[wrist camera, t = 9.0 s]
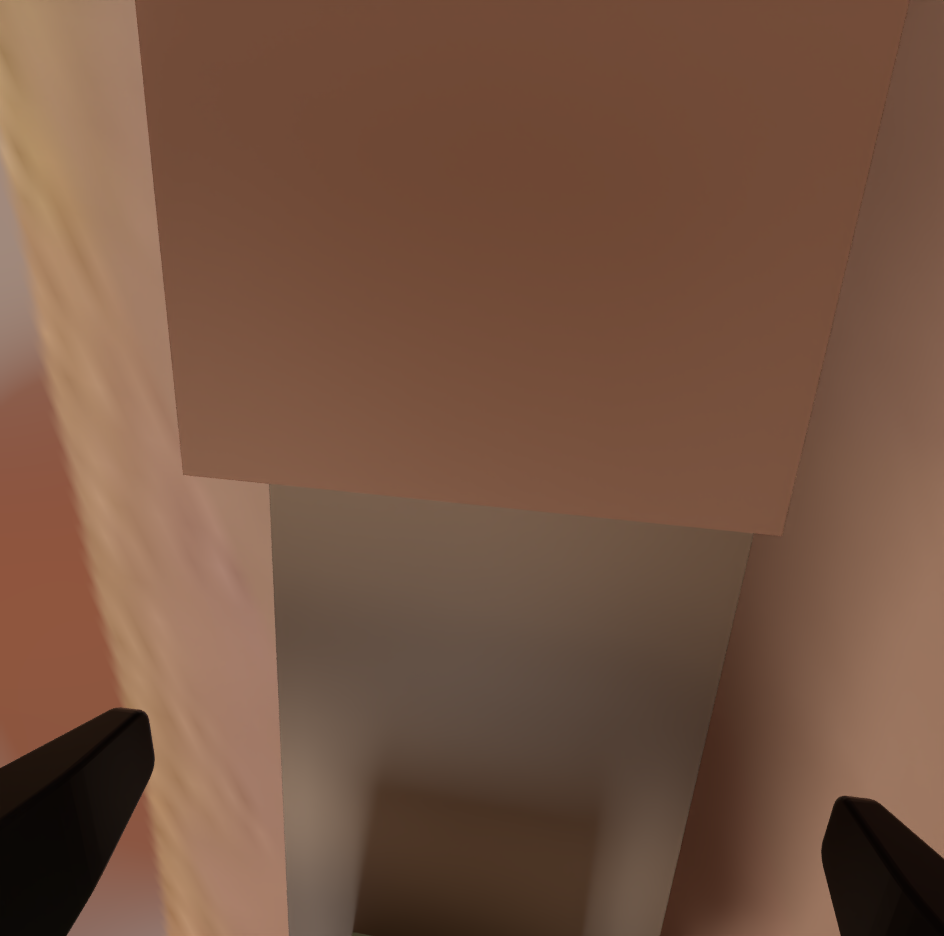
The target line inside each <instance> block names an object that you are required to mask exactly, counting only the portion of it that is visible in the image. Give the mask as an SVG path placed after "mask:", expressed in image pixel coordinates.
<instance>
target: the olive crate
mask: <svg viewBox="0 0 944 936" xmlns="http://www.w3.org/2000/svg"><path fill="white" fill-rule="evenodd" d="M352 936H371V935H365V934H360V933H354V932H353V933H352Z"/></svg>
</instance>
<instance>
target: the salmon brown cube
mask: <svg viewBox="0 0 944 936" xmlns="http://www.w3.org/2000/svg"><path fill="white" fill-rule="evenodd" d="M909 2H910V0H135V5H136V14H137V24H138V34H139V44H140V54H141V64H142V74H143V84H144V93H145V103H146V113H147V123H148V133H149V143H150V153H151V162H152V172H153V182H154V192H155V202H156V212H157V222H158V231H159V241H160V251H161V261H162V271H163V281H164V291H165V300H166V310H167V320H168V330H169V340H170V350H171V360H172V370H173V379H174V389H175V399H176V409H177V419H178V429H179V439H180V448H181V458H182V468H183V475H189V476H199V477H208V478H218V479H228V480H238V481H247V482H257V483H267V484H277V485H286V486H296V487H306V488H315V489H325V490H335V491H345V492H354V493H364V494H374V495H384V496H393V497H403V498H413V499H423V500H432V501H442V502H452V503H462V504H471V505H481V506H491V507H501V508H510V509H520V510H530V511H540V512H549V513H559V514H569V515H579V516H588V517H598V518H608V519H618V520H627V521H637V522H647V523H657V524H666V525H676V526H686V527H696V528H705V529H715V530H725V531H735V532H744V533H754V534H764V535H773V536H782V534H783V530H784V526H785V522H786V517H787V513H788V509H789V505H790V501H791V496H792V492H793V488H794V484H795V480H796V475H797V471H798V467H799V463H800V459H801V454H802V450H803V446H804V442H805V438H806V434H807V429H808V425H809V421H810V417H811V413H812V408H813V404H814V400H815V396H816V392H817V387H818V383H819V379H820V375H821V371H822V366H823V362H824V358H825V354H826V350H827V346H828V341H829V337H830V333H831V329H832V325H833V320H834V316H835V312H836V308H837V304H838V299H839V295H840V291H841V287H842V283H843V278H844V274H845V270H846V266H847V262H848V257H849V253H850V249H851V245H852V241H853V237H854V232H855V228H856V224H857V220H858V216H859V211H860V207H861V203H862V199H863V195H864V190H865V186H866V182H867V178H868V174H869V169H870V165H871V161H872V157H873V153H874V149H875V144H876V140H877V136H878V132H879V128H880V123H881V119H882V115H883V111H884V107H885V102H886V98H887V94H888V90H889V86H890V81H891V77H892V73H893V69H894V65H895V60H896V56H897V52H898V48H899V44H900V40H901V35H902V31H903V27H904V23H905V19H906V14H907V10H908V6H909Z"/></svg>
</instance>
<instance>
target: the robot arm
mask: <svg viewBox="0 0 944 936" xmlns="http://www.w3.org/2000/svg"><path fill="white" fill-rule="evenodd" d="M154 761H155V756H154V749H153V742H152V736H151V729H150V723H149V718H148V715H147V714H146V713H145V712H144V711H142V710H137V709H129V708H113V709H111V710H109V711H107V712H105V713H103V714H101V715H99V716H97V717H96V718H94V719H92V720H90V721H88V722H86V723H84V724H82V725H80V726H79V727H77V728H75V729H73V730H71V731H69V732H67V733H65V734H64V735H62V736H60V737H58V738H56V739H54V740H53V741H50V742H49V743H47V744H45V745H43V746H41V747H39V748H37V749H35V750H33V751H32V752H30V753H28V754H26V755H24V756H22V757H20V758H19V759H17V760H15V761H13V762H11V763H9V764H7V765H5V766H3V767H2V768H0V936H67V934H68V932H69V931H70V929H71V927H72V926H73V924H74V923H75V921H76V919H77V918H78V916H79V914H80V912H81V911H82V909H83V908H84V906H85V904H86V903H87V901H88V899H89V897H90V896H91V894H92V892H93V891H94V889H95V887H96V885H97V883H98V881H99V879H100V877H101V876H102V874H103V872H104V870H105V868H106V866H107V864H108V862H109V860H110V858H111V856H112V854H113V852H114V850H115V848H116V845H117V843H118V841H119V839H120V837H121V835H122V833H123V831H124V829H125V827H126V825H127V823H128V821H129V819H130V817H131V815H132V813H133V811H134V809H135V807H136V805H137V803H138V801H139V799H140V797H141V795H142V793H143V791H144V789H145V787H146V785H147V783H148V781H149V779H150V777H151V774H152V771H153V768H154ZM821 854H822V863H823V868H824V872H825V876H826V880H827V884H828V887H829V891H830V895H831V899H832V903H833V907H834V911H835V915H836V919H837V923H838V927H839V931H840V934H841V936H944V858H942V857H941V856H940V855H939V854H938V853H937V852H935V851H934V850H933V849H932V848H931V847H930V846H928V845H927V844H926V843H925V842H924V841H923V840H922V839H920V838H919V837H918V836H917V835H916V834H915V833H913V832H912V831H911V830H910V829H909V828H908V827H907V826H905V825H904V824H903V823H902V822H901V821H900V820H898V819H897V818H896V817H895V816H894V815H893V814H892V813H890V812H889V811H888V810H887V809H886V808H885V807H883V806H882V805H881V804H880V803H878V802H877V801H875V800H872V799H867V798H859V797H851V796H841V797H839V798H838V799H837V800H836V801H835V804H834V806H833V809H832V813H831V816H830V819H829V822H828V826H827V829H826V832H825V835H824V839H823V842H822V850H821Z"/></svg>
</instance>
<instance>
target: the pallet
mask: <svg viewBox="0 0 944 936" xmlns="http://www.w3.org/2000/svg"><path fill="white" fill-rule="evenodd" d="M269 493H270V515H271V538H272V561H273V584H274V606H275V629H276V652H277V675H278V698H279V720H280V743H281V766H282V789H283V811H284V834H285V857H286V880H287V902H288V925H289V936H352V933H353V932H354V933H360V934H365V935H371V936H660V933H661V929H662V925H663V920H664V916H665V912H666V908H667V903H668V899H669V895H670V890H671V886H672V882H673V878H674V873H675V869H676V865H677V860H678V856H679V852H680V848H681V843H682V839H683V835H684V830H685V826H686V822H687V818H688V813H689V809H690V805H691V801H692V796H693V792H694V788H695V783H696V779H697V775H698V771H699V766H700V762H701V758H702V753H703V749H704V745H705V741H706V736H707V732H708V728H709V723H710V719H711V715H712V711H713V706H714V702H715V698H716V694H717V689H718V685H719V681H720V676H721V672H722V668H723V664H724V659H725V655H726V651H727V646H728V642H729V638H730V634H731V629H732V625H733V621H734V616H735V612H736V608H737V604H738V599H739V595H740V591H741V587H742V582H743V578H744V574H745V569H746V565H747V561H748V557H749V552H750V548H751V544H752V539H753V535H754V533H744V532H735V531H725V530H715V529H705V528H696V527H686V526H676V525H666V524H657V523H647V522H637V521H627V520H618V519H608V518H598V517H588V516H579V515H569V514H559V513H549V512H540V511H530V510H520V509H510V508H501V507H491V506H481V505H471V504H462V503H452V502H442V501H432V500H423V499H413V498H403V497H393V496H384V495H374V494H364V493H354V492H345V491H335V490H325V489H315V488H306V487H296V486H286V485H277V484H269Z"/></svg>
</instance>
